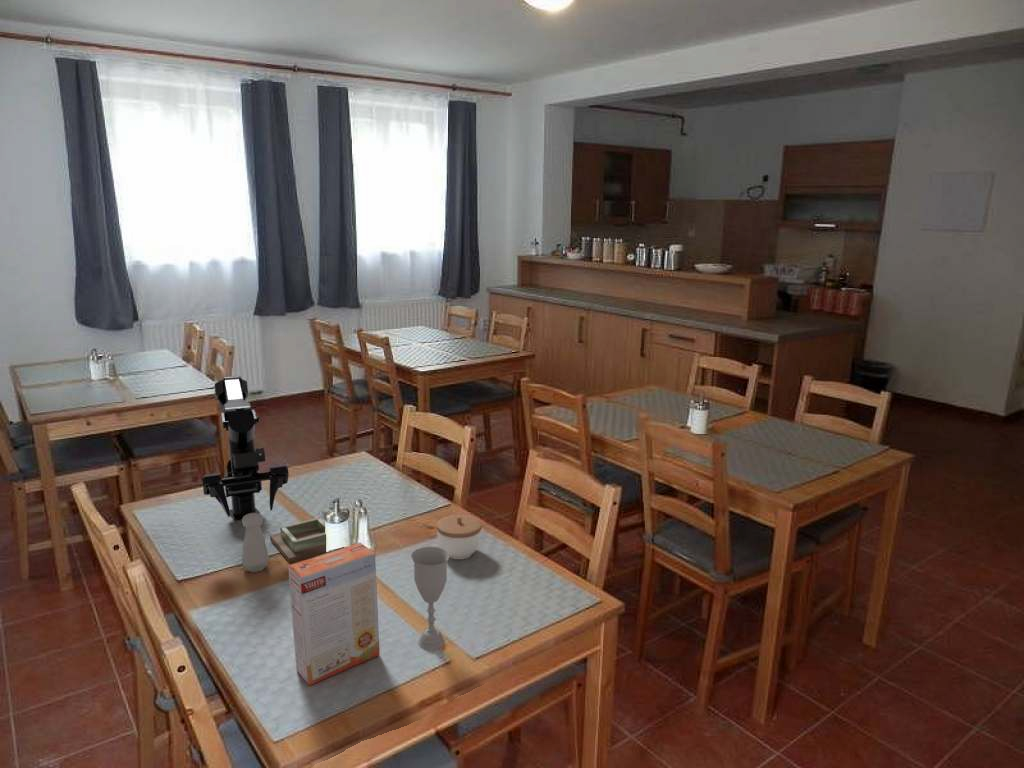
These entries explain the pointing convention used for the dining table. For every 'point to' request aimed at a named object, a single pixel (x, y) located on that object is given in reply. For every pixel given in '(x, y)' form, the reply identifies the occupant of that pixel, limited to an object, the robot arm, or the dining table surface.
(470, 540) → the lidded jar
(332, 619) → the cracker box
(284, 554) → the stand
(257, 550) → the salt shaker
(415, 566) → the chalice
